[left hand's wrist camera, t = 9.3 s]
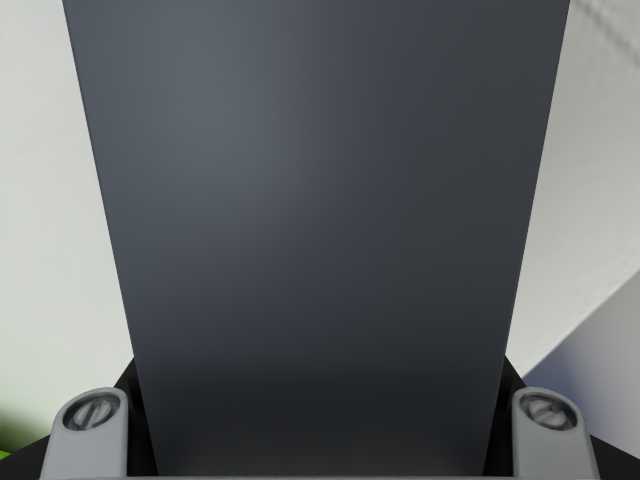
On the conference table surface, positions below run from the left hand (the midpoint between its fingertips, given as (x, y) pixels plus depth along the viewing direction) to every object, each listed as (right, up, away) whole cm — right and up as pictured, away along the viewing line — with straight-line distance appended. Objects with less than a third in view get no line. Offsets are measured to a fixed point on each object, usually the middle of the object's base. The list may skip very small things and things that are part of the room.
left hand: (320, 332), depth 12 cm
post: (0, +29, -9) cm, 31 cm away
